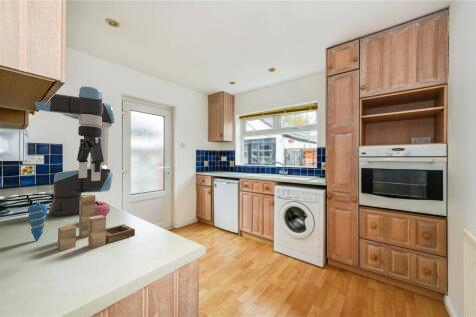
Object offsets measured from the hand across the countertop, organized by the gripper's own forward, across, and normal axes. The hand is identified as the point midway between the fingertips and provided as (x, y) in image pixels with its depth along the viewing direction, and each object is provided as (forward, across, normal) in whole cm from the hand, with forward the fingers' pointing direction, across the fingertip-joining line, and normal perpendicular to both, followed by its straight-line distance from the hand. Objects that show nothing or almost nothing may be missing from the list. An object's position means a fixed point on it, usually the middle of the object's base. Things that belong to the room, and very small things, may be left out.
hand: (89, 179), depth 80 cm
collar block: (+23, +10, +7) cm, 26 cm away
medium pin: (+23, +13, -1) cm, 26 cm away
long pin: (+23, 0, 0) cm, 23 cm away
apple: (+23, -17, +10) cm, 30 cm away
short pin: (+23, +7, -8) cm, 25 cm away
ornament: (+23, -8, -13) cm, 28 cm away
